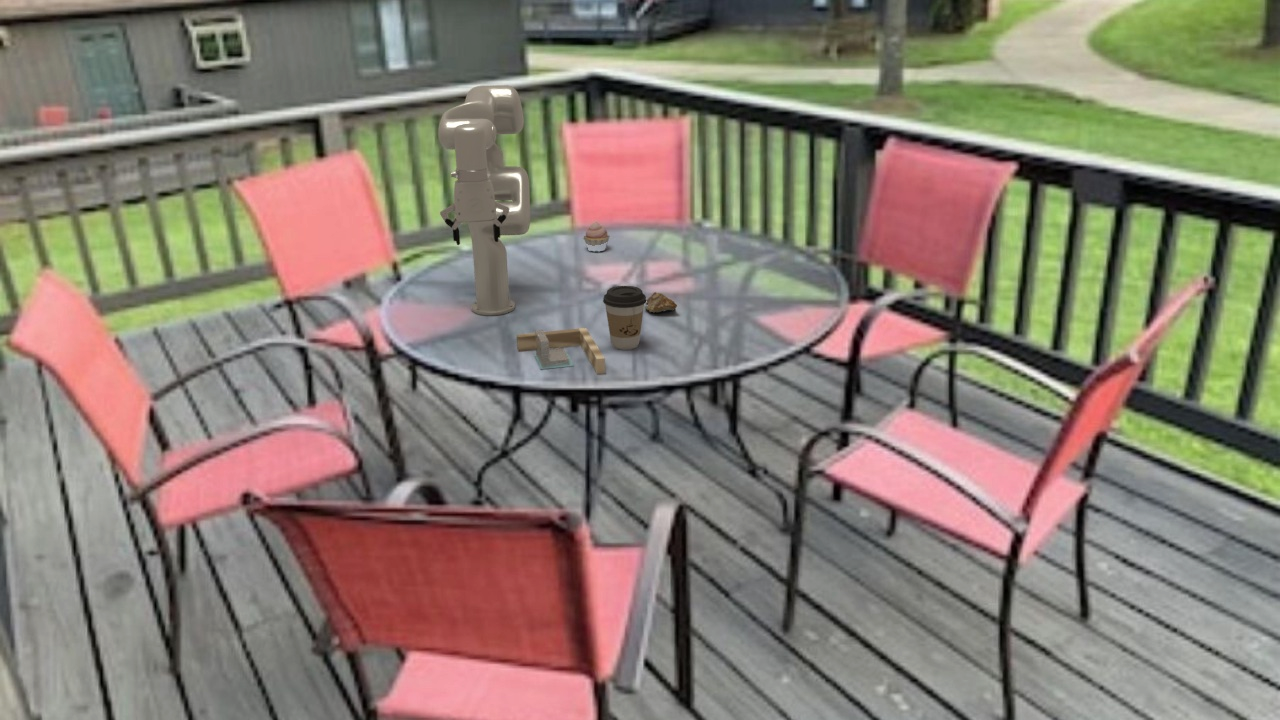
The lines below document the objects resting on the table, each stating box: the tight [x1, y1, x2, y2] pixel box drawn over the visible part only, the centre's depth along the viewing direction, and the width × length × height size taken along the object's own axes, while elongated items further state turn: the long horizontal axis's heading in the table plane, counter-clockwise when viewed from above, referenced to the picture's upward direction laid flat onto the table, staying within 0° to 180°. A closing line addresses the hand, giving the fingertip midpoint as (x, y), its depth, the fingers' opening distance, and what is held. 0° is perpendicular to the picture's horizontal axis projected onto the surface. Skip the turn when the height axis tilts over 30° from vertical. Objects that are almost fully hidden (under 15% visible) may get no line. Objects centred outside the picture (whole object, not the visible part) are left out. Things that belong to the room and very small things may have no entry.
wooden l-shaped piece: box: [516, 327, 606, 375], centre depth 253 cm, size 22×18×4 cm
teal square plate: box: [534, 352, 575, 371], centre depth 253 cm, size 9×8×1 cm
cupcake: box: [583, 221, 610, 246], centre depth 343 cm, size 9×9×10 cm
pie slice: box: [644, 291, 678, 313], centre depth 288 cm, size 10×4×15 cm
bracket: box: [534, 329, 569, 368], centre depth 252 cm, size 8×7×7 cm
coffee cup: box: [602, 285, 647, 351], centre depth 261 cm, size 11×11×15 cm
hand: (477, 242), depth 253 cm, fingers open, 9 cm apart
